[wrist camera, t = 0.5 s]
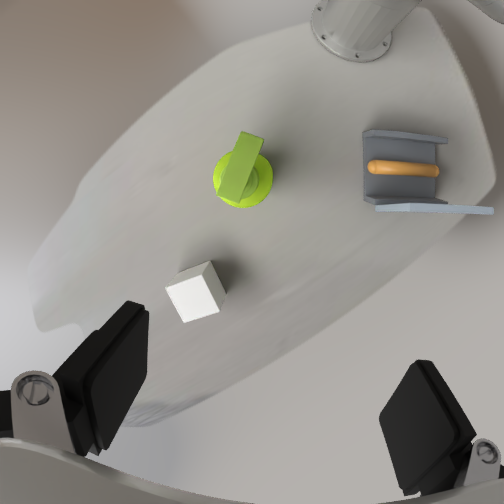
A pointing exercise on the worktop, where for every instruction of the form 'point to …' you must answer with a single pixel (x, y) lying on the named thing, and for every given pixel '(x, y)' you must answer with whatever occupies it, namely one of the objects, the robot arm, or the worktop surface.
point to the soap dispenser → (243, 173)
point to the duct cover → (434, 208)
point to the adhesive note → (196, 292)
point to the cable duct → (400, 167)
